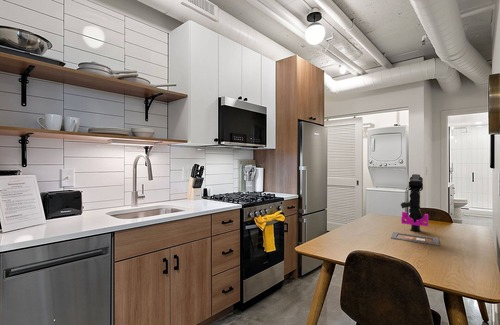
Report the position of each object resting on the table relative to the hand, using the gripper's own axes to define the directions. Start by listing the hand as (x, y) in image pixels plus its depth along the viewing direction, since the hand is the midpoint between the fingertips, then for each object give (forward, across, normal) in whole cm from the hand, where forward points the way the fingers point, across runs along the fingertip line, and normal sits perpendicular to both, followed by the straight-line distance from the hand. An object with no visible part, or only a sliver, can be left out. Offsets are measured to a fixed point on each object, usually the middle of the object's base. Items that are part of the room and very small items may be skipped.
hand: (414, 221), depth 179 cm
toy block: (+2, 0, 0) cm, 2 cm away
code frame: (+12, 0, 0) cm, 12 cm away
